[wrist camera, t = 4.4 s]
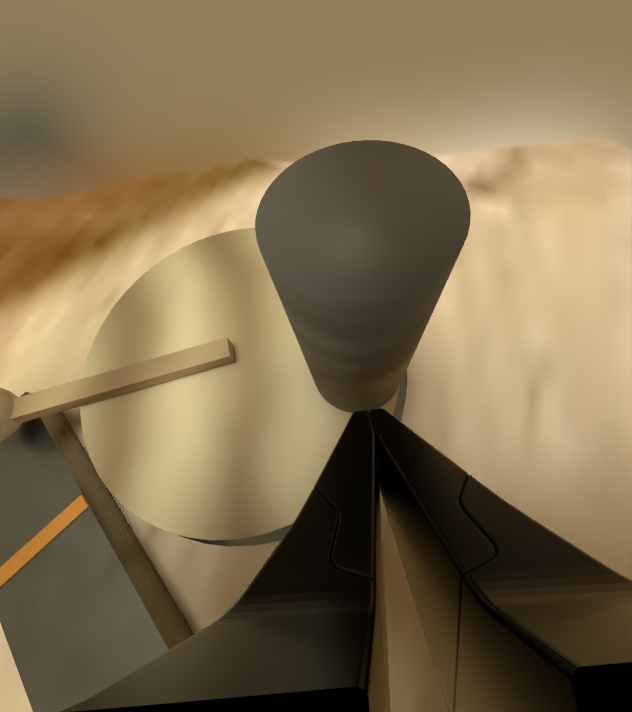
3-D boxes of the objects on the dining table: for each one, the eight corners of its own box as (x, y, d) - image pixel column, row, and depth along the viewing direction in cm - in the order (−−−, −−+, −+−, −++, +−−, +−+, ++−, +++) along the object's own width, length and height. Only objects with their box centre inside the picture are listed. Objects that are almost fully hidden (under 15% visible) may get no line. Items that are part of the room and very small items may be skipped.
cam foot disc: (-18, 610, 14) (-941, 928, 4) (26, 309, 20) (-287, 147, 10) (451, 478, 13) (704, 473, 4) (345, 217, 20) (335, -40, 10)
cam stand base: (108, 770, 12) (68, 817, 10) (-28, 448, 18) (-67, 445, 16) (472, 363, 16) (485, 350, 15) (265, 212, 22) (258, 190, 20)
